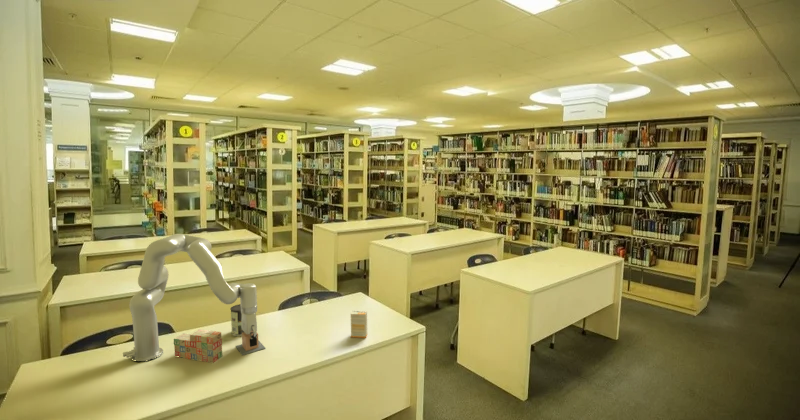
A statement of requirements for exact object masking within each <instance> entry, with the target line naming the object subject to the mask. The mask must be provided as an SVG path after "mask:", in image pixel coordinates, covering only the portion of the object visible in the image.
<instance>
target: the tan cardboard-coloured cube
mask: <svg viewBox="0 0 800 420" xmlns="http://www.w3.org/2000/svg"><path fill="white" fill-rule="evenodd" d="M251 332H253V331H251ZM251 335H253V334H251ZM258 340H259V333H258V332H257V345H256V346H252V347H250V335H249V334H248V335H247V334H246V333H245V332H243V333H242V336H241V341H242V342H241V344H242V346H243V348H244V349H245V350H246V351H247V350H251V349H254V348H258V347H259V345H258Z"/></svg>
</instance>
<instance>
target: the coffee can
mask: <svg viewBox="0 0 800 420" xmlns="http://www.w3.org/2000/svg"><path fill="white" fill-rule="evenodd" d="M241 318H242V314H241V303H240V304H235V305H232V306H231V307H230V321H231V323H230V324H231V325H230V326H231V335H232V336H235V337H242V333H243V332H244V331H243V330H242V328H241Z"/></svg>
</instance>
